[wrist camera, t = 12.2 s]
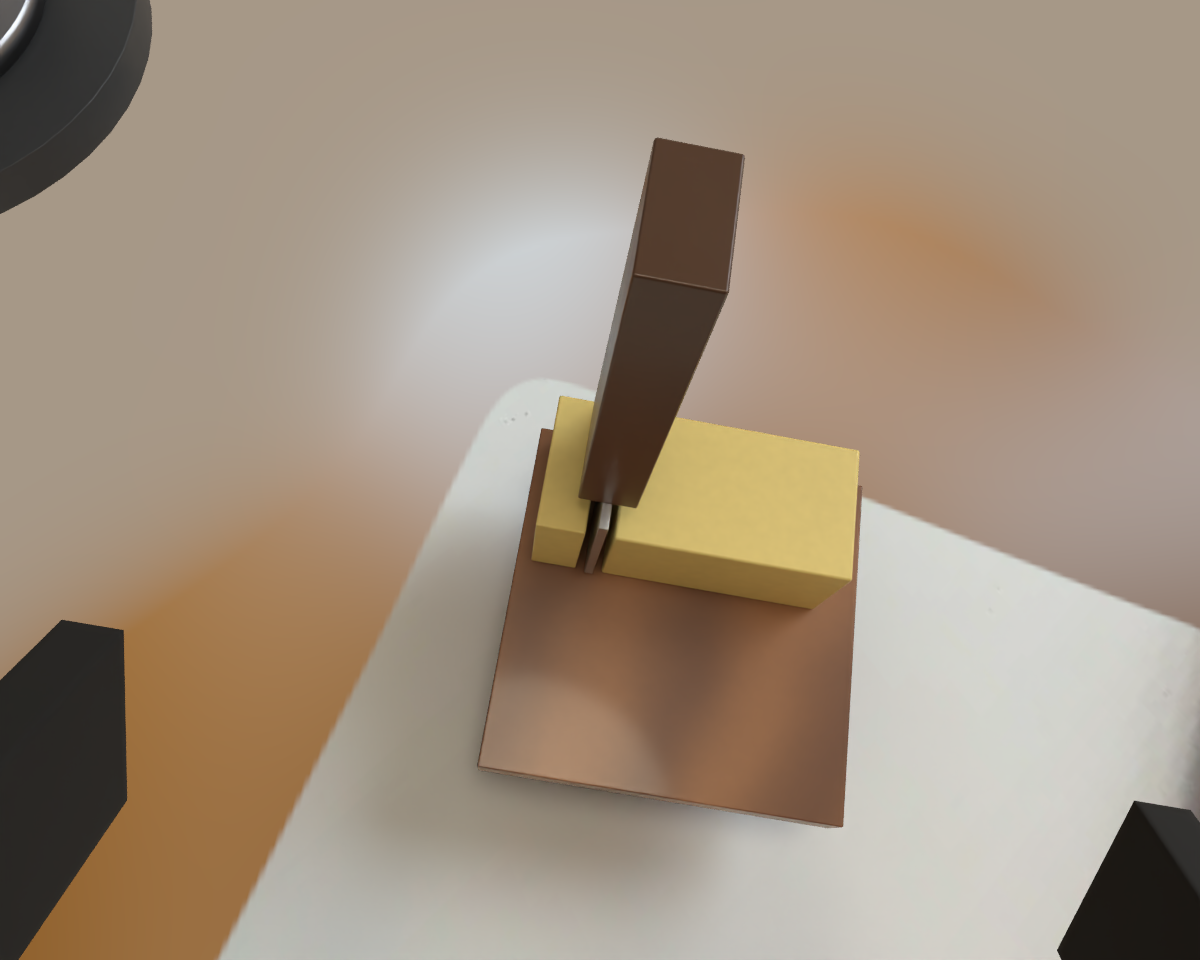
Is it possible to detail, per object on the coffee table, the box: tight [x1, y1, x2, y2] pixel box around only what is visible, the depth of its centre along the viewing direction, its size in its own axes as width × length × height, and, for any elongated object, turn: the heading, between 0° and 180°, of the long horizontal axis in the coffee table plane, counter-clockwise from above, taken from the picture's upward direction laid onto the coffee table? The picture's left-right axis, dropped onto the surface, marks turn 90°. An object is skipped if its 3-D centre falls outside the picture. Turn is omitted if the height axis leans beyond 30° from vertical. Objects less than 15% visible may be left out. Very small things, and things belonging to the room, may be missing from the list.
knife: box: [578, 138, 745, 574], centre depth 26 cm, size 2×5×17 cm, turn 171°
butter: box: [531, 396, 859, 609], centre depth 33 cm, size 10×4×4 cm, turn 81°
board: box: [477, 428, 862, 828], centre depth 34 cm, size 12×12×2 cm
